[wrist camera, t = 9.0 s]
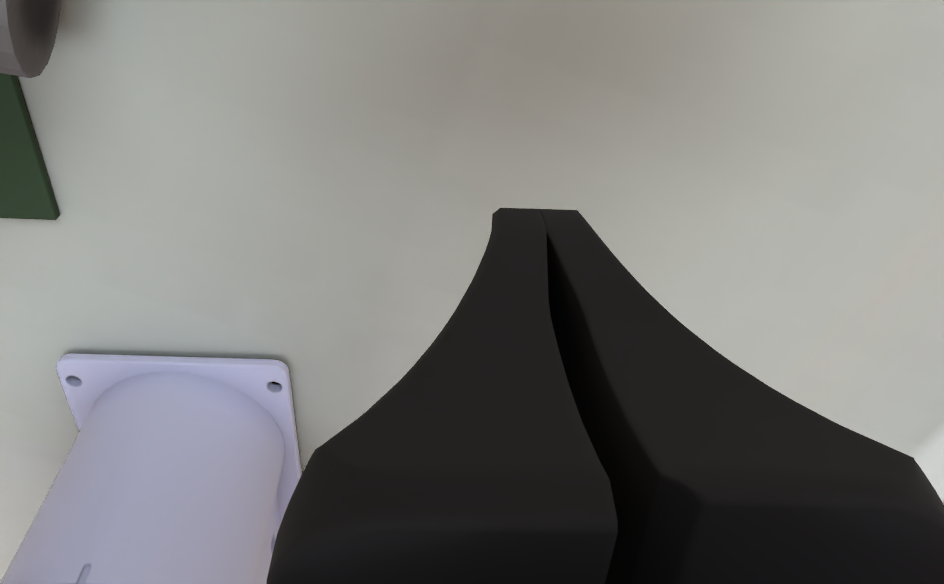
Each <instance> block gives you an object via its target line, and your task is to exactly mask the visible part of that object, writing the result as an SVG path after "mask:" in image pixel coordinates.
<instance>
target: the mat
mask: <svg viewBox="0 0 944 584" xmlns="http://www.w3.org/2000/svg"><path fill="white" fill-rule="evenodd" d="M59 216H60V214H59V211H58V207H57V204H56V201H55V198H54V195H53V191H52V188H51V185H50V182H49V178H48V175H47V172H46V169H45V166H44V162H43V159H42V156H41V153H40V150H39V146H38V143H37V140H36V137H35V134H34V130H33V127H32V124H31V121H30V117H29V114H28V111H27V108H26V105H25V101H24V98H23V95H22V92H21V89H20V85H19V82H18V79H17V76H16V75H9V74H3V73H0V218H20V219H47V220H56V219H57V218H58V217H59Z"/></svg>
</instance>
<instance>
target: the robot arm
mask: <svg viewBox="0 0 944 584" xmlns="http://www.w3.org/2000/svg"><path fill="white" fill-rule="evenodd" d="M56 371H57V374H58V376H59V379H60V382H61V385H62V387H63V390H64V393H65V396H66V398H67V401H68V404H69V406H70V409H71V412H72V415H73V417H74V420H75V423H76V426H77V428H78V431H79V434H78V436H77V438H76V440H75V442H74V444H73V446H72V447H71V449H70V451H69V453H68V455H67V457H66V459H65V461H64V463H63V465H62V466H61V468H60V470H59V472H58V474H57V476H56V478H55V480H54V482H53V484H52V485H51V487H50V489H49V491H48V493H47V495H46V497H45V499H44V501H43V503H42V505H41V506H40V508H39V510H38V512H37V514H36V516H35V518H34V520H33V522H32V524H31V525H30V527H29V529H28V531H27V533H26V535H25V537H24V539H23V541H22V543H21V545H20V546H19V548H18V550H17V552H16V554H15V556H14V558H13V560H12V562H11V564H10V565H9V567H8V569H7V571H6V573H5V575H4V577H3V579H2V581H1V583H0V584H944V505H943V503H942V501H941V499H940V498H939V496H938V494H937V493H936V491H935V489H934V488H933V486H932V485H931V483H930V482H929V480H928V479H927V477H926V476H925V474H924V473H923V471H922V470H921V468H920V467H919V465H918V464H917V463H916V461H915V460H914V458H913V457H910V456H908V455H906V454H904V453H901V452H899V451H897V450H895V449H892V448H890V447H888V446H886V445H883V444H881V443H879V442H877V441H874V440H872V439H870V438H868V437H865V436H863V435H861V434H859V433H856V432H854V431H852V430H850V429H847V428H845V427H843V426H841V425H839V424H837V423H835V422H833V421H831V420H829V419H827V418H825V417H823V416H821V415H819V414H817V413H816V412H814V411H812V410H810V409H808V408H806V407H804V406H802V405H801V404H799V403H797V402H795V401H793V400H791V399H790V398H788V397H786V396H785V395H783V394H781V393H779V392H778V391H776V390H774V389H772V388H771V387H769V386H767V385H766V384H764V383H763V382H761V381H760V380H758V379H757V378H755V377H754V376H752V375H750V374H749V373H747V372H746V371H744V370H743V369H741V368H740V367H738V366H737V365H735V364H734V363H732V362H731V361H729V360H728V359H727V358H725V357H724V356H722V355H721V354H719V353H718V352H717V351H715V350H714V349H713V348H712V347H710V346H709V345H708V344H706V343H705V342H704V341H703V340H701V339H700V338H699V337H698V336H696V335H695V334H694V333H692V332H691V331H690V330H689V329H687V328H686V327H685V326H684V325H683V324H682V323H680V322H679V321H678V320H677V319H676V318H675V317H673V316H672V315H671V314H670V313H669V312H668V311H667V310H666V309H665V308H664V307H663V306H662V305H661V304H660V303H659V302H657V301H656V300H655V299H654V298H653V297H652V296H651V295H650V294H649V293H648V292H647V291H646V290H645V289H644V288H643V287H642V286H641V285H640V284H639V283H638V281H637V280H636V279H635V278H634V277H633V276H632V275H631V274H630V273H629V272H628V270H627V269H626V268H625V267H624V266H623V265H622V264H621V263H620V261H619V260H618V259H617V258H616V257H615V256H614V254H613V253H612V252H611V251H610V250H609V248H608V247H607V246H606V245H605V244H604V242H603V241H602V240H601V239H600V237H599V236H598V235H597V234H596V232H595V231H594V230H593V229H592V227H591V226H590V225H589V224H588V222H587V221H586V220H585V219H584V218H583V216H582V215H581V214H580V213H579V212H578V211H577V210H552V209H519V208H500V209H498V210H497V211H496V212H495V213H493V217H492V232H491V235H490V239H489V242H488V245H487V248H486V251H485V253H484V256H483V258H482V260H481V263H480V265H479V267H478V269H477V272H476V274H475V276H474V278H473V280H472V282H471V284H470V286H469V287H468V289H467V291H466V293H465V295H464V296H463V298H462V300H461V302H460V303H459V305H458V307H457V309H456V310H455V312H454V313H453V315H452V316H451V318H450V320H449V321H448V323H447V324H446V325H445V327H444V328H443V330H442V331H441V332H440V334H439V335H438V336H437V338H436V339H435V341H434V342H433V343H432V344H431V346H430V347H429V348H428V349H427V350H426V352H425V353H424V354H423V355H422V356H421V358H420V359H419V360H418V361H417V362H416V364H415V365H414V366H413V367H412V368H411V369H410V370H409V371H408V372H407V374H406V375H405V376H404V377H403V378H402V379H401V380H400V381H399V382H398V383H397V384H396V385H395V386H393V387H392V388H391V389H390V390H389V391H388V392H387V393H386V394H385V395H384V396H383V397H382V398H381V399H379V400H378V401H377V402H376V403H375V404H374V405H373V406H372V407H371V408H370V409H369V410H368V411H366V412H365V413H364V414H363V415H362V416H360V417H359V418H358V419H357V420H355V421H354V422H353V423H351V424H350V425H349V426H347V427H346V428H344V429H343V430H342V431H340V432H339V433H338V434H336V435H335V436H334V437H332V438H331V439H330V440H328V441H327V442H326V443H324V444H323V445H322V446H320V447H319V448H317V449H316V450H315V451H314V453H313V455H312V456H311V458H310V460H309V462H308V464H307V466H306V468H305V470H304V472H303V474H302V473H301V465H300V456H299V448H298V440H297V432H296V424H295V416H294V407H293V399H292V391H291V383H290V375H289V369H288V367H287V365H285V364H284V363H283V362H281V361H279V360H273V359H239V358H205V357H172V356H138V355H105V354H71V353H70V354H64V355H63V356H61V357H60V359H59V361H58V362H57V364H56ZM73 376H75V377H77V378H79V379H77V378H75V377H73ZM271 382H278V383H279V385H276V384H273V383H271Z"/></svg>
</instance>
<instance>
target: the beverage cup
mask: <svg viewBox="0 0 944 584" xmlns="http://www.w3.org/2000/svg"><path fill="white" fill-rule="evenodd" d="M60 7H61V0H0V73H3V74H9V75H16V76H22V77H28V78H33V77H35V76H38V75H40V74H41V72H42V71H43V69H44V68H45V66H46V65H47V64H48V61H49V58H50V55H51V52H52V49H53V47H54V43H55V38H56V33H57V28H58V23H59V16H60Z"/></svg>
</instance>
